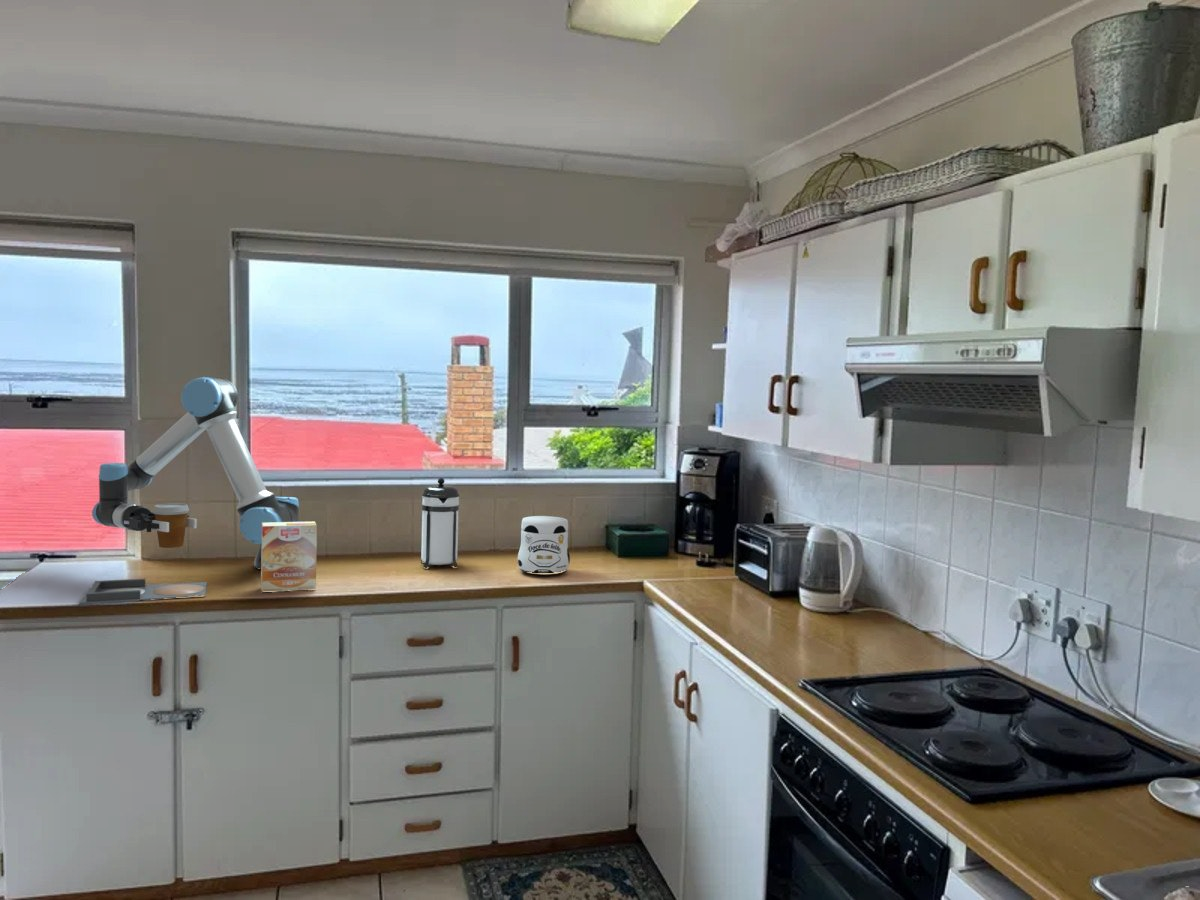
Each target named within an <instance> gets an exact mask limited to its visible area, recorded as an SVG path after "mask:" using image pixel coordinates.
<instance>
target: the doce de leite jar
mask: <svg viewBox="0 0 1200 900" xmlns="http://www.w3.org/2000/svg"><path fill="white" fill-rule="evenodd" d="M520 526H521V529H520V547H519V551H518V552H517V565H518V568H519V570H520V571H521V572H523V571H525V572H524V573H526V572H532V573H554V572H561V571H564V570H568V569H569V567H570V561H571V560H570V559H571V557H570V550H569V547H568V546H569V545H568V539H569V521H568V519H567V518H564V517H561V516H560V517H559V516H549V515H548V516H547V515H534V516H533V515H532V516H526V517H522V520H521V524H520Z"/></svg>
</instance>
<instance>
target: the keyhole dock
mask: <svg viewBox="0 0 1200 900" xmlns="http://www.w3.org/2000/svg"><path fill="white" fill-rule="evenodd" d="M146 581H147V579H146V578H128V579H108V580H106V579H105V580H95V581H94V582H93V583H92V585H91V587H89V588H88V589H87V591H86V592H85V594H83V597H82V598H81V599H80V601H79V606H82V605H95V604H96V605H97V603H101V604H111V603H110V602H118V603H125V602H124V601H135V602H139V601H138V600H151V599H164V598H176V597H188V596H195V595H198V596H201V595H205V593H206V592H207V587H206V586H207V585H208V582H207V581H200V582H199V581H198V582H197V581H196V582H179V583H178V582H177V583H160V584H146ZM206 594H207V593H206ZM205 596H206V595H205ZM122 601H123V602H122ZM107 602H109V603H107Z"/></svg>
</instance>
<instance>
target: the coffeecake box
mask: <svg viewBox="0 0 1200 900" xmlns="http://www.w3.org/2000/svg"><path fill="white" fill-rule="evenodd" d="M317 536H318V525H317V523H316V521H299V522H267V523H262V547H261V570H260V591H261V590H262V591H288V590H305V589H306V590H308V589H316V590H317V588H316V587H317V545H318V541H317V539H318V537H317ZM262 591H261V592H262ZM308 591H309V590H308Z"/></svg>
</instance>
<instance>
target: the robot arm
mask: <svg viewBox="0 0 1200 900" xmlns="http://www.w3.org/2000/svg"><path fill="white" fill-rule="evenodd" d="M239 396H240V395H239V392H238V389H237V387H236V385H235V384H234V383H232V381H230V380H228V379H226V378H223V377H210V376H209V377H208V376H201V377H197V378H193V379H192V380H190V381H189V382H187V383H186V384H185V386H184V388H183V389H182V391H181V396H180V397H181V398H180V399H181V404H182V407H183V408H184V409H185V411H186V413H185V414H184V415H183V416H182V417H180V418H179V420H178V421H176V422H175V423H174V424H173V425H172V426H171V427H170V428H169V429H167V430H166V431H165V432H164V433H163V434H162V435H161V436H160V437H159V438H157V439H156V441H154V442H153V443H152V444H151V445H150V446H148V448H147V449H145V450H144V451H143V452H142V453H141V454H139V456H138V457H136V458H135V459H134V460H133V461H132V462H131V463H130V464H129V465H127V464H126V463H122V462H105V463H102V464H100V466H99V474H98V490H99V491H98V493H99V494H98V495H99V497H98V498H99V499H98V502H96V504H95V505H94V507H93V508H92V511H91V515H92V518H93V520H94V521H95V522H96V523H97V524H100V525H103V526H105V527H106V526H107V527H112V528H119V529H125V532H126V531H127V532H128V531H134V532H142V531H144V530H146V533H152V531H156V532H157V531H162V532H169V522H163V521H157V520H156V519H155V514H154V512H153V511H152V512H151V510H150V509H149V508H148V507H146V506H143V505H137V504H132V503H128V492H130V491H135V490H140V489H144V488H145V487H148V486H149V485H150V484H151V483H152V481H153V477H155V476H156V475H157V474H158V473H159V472H160V471H161V470H162V469H163V468H164V467H166V466H167V464H169V463H170V462H172V460H173V459H175V457H177V456H178V455H180V453H181V452H182V451H183V450H185V448H187V447H188V446H189V445H190V444H191V443H193V442H194V441H195V439H197V438H198V437H199V436H200V435H201V434H202V433H203V432H204V431H206V433H207V434H208V437H209V438H210V441H211V443H212V445H213V447H214V450H215V452H216V454H217V457H218V459H219V461H220V463H221V464H222V467H223V470H224V472H225V474H226V476H227V478H228V480H229V482H230V485H231V487H232V489H233V491H234V494H235V495H236V498H237V500H238V505H237V506H236V510H237V513H238V515H239V517H240V520H239V523H238V524H239V530H240V532H241V534H242V536H243V537H244V538H245V539H246V540H247V541H248V542H251V543H253V544H258V545H259V546H258V549H257V552H256V555H255V557H254V561H253V562H254V566H255V567H256V568H260V569H261V547H262V523H267V522H300V520H299V518H300V517H299V515H300V514H299V513H300V505H299V501H300V500H299V499H298V498H297V497H295V496H294V497H293V496H276V495H275V493H274V492H272V491H269V490H267V488H266V486H265V483H264V481H263V479H262V477H261V475H260V472H259V470H258V468H257V466H256V464H255V462H254V460H253V457H252V455H251V453H250V451H249V449H248V447H247V443H246V442H245V440H244V438H243V435H242V433H241V431H240V429H239V426H238V424H237V422H236V419H235V418H236V417H237V414H238V412H237V409H236V407H237V405H238V402H239ZM197 522H198V519H197V518H192V517H190V516H189V515H188V514H187V521H186V528H191V529H197V528H198V527H197V525H198V523H197ZM255 567H254V568H255ZM256 568H255V569H256Z"/></svg>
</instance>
